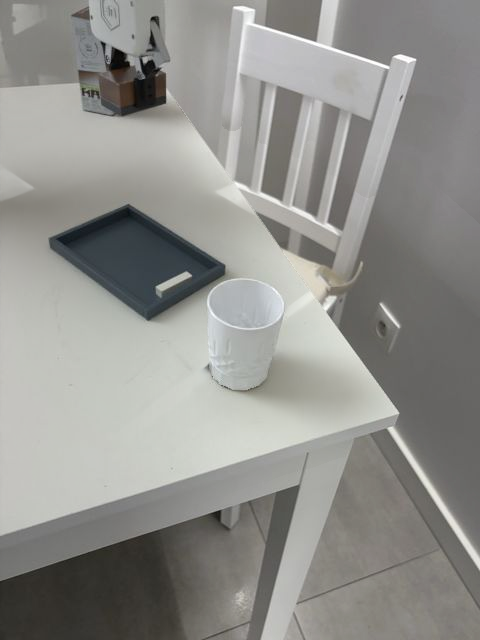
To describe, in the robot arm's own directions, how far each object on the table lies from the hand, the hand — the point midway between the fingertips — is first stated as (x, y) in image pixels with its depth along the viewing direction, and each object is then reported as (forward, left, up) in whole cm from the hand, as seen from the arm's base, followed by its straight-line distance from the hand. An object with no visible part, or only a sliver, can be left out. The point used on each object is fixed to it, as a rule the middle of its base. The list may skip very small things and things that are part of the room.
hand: (133, 98), depth 77 cm
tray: (+15, -13, -14) cm, 24 cm away
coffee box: (-28, +16, -14) cm, 36 cm away
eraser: (0, 0, -1) cm, 1 cm away
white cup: (+37, -17, -14) cm, 43 cm away
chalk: (+22, -13, -13) cm, 28 cm away
